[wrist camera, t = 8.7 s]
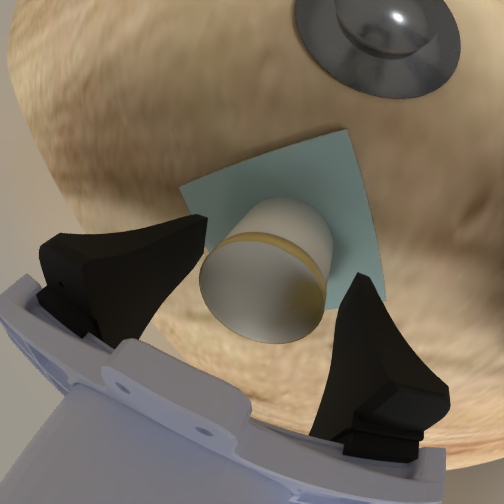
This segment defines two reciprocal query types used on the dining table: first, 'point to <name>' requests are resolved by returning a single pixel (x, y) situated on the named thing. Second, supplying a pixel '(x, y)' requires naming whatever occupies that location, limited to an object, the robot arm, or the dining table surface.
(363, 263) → the coaster
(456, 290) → the dining table surface
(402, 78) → the grey round lid
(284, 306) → the can
